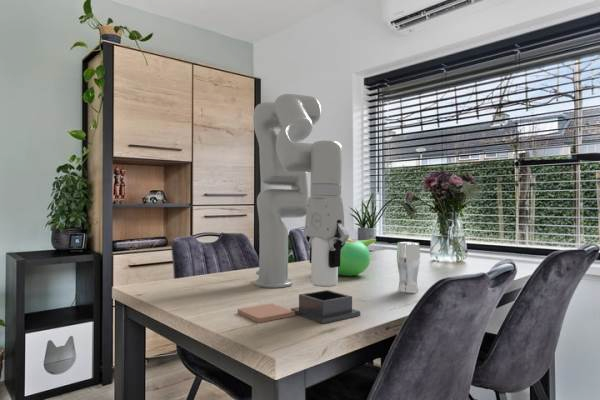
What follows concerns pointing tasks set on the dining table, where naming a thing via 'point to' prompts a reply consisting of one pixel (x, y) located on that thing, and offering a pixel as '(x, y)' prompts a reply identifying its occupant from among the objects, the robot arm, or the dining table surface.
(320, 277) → the can
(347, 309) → the sleeve
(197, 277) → the dining table surface
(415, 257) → the beer glass
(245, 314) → the mat
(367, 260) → the green round teapot
